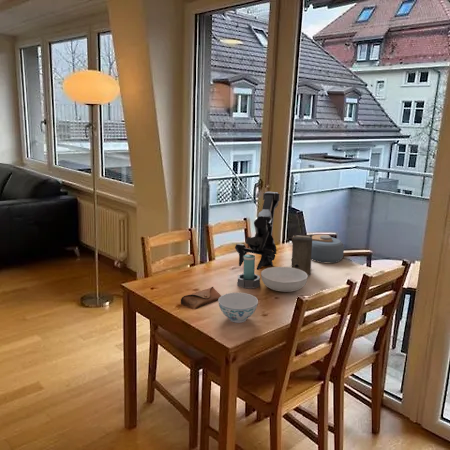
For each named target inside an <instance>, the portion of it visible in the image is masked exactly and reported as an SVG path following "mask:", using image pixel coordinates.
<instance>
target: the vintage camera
mask: <svg viewBox="0 0 450 450" xmlns="http://www.w3.org/2000/svg"><path fill="white" fill-rule="evenodd" d="M312 236H313V235H311V234H310V235H296V234H294V235H292V237H291V244H292V248H291V249H292V251H291V259H290V261H291V265H290V266H291V268H296V269H300V270H302V271H304V272H306V273H307V275H308V276H311V272H312V271H311V267H312V259H311V252H312Z"/></svg>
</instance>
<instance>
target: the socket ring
mask: <svg viewBox="0 0 450 450" xmlns="http://www.w3.org/2000/svg"><path fill="white" fill-rule="evenodd" d="M260 281H261V275H259V274H256V273H254V280H244V279H243V273H240V274H238V275H237V283H236V285H237V286H238V287H240V288H241V289H256V288H258V287H260V285H261V284H260Z"/></svg>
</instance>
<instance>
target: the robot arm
mask: <svg viewBox="0 0 450 450" xmlns="http://www.w3.org/2000/svg"><path fill="white" fill-rule="evenodd" d="M262 195H263V196H262V200H263V204H262V208H261V211H259V212H258V214H257V216H256V218H255V220H254V222H253V226H254V229H255V234H254V236H252V237H251V236H247V237H246V241H245V244H247V246H246V245H245V244H243V243H236V244H235V247H234V249H235V250H236V253H237V254H238V257H239V258H238V266H239V267H241V266H242V265H243V264H244V255H247V254H248V253H249V254H253V255H254V254H255V255H259V256H260V257H261V258H260V259H259V262H258V264H257V267H256V271H259V270H261V268H262V267H274V263H273V261H274V260H276V259H275V258H276V255H277V246H276V243H275V239H274V237H273V228H274V221H275V220H274V219H275V218H274V217H275V210H276V208H277V207H278V206H279V203H280V201H281V194H280V193H279V192H278V191H266V192H263V193H262Z"/></svg>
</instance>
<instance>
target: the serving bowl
mask: <svg viewBox="0 0 450 450" xmlns="http://www.w3.org/2000/svg"><path fill="white" fill-rule="evenodd" d="M291 267H292V266H291ZM291 267H290V266H289V267H288V266H270V267H267V268H264V269H263V270H261V272H260V279H261V281H262V282H263V284H264V285H265V286H266V287H267V288H269V289H271V290H273V291H276V292H284V293H287V292H295V291H298V290H300V289H302V288H303V287H304V286H305V285H306V283H307V281H308V276H309V275H307V273H306V272H304V271H302V270H300V269H296V268H291Z"/></svg>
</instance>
